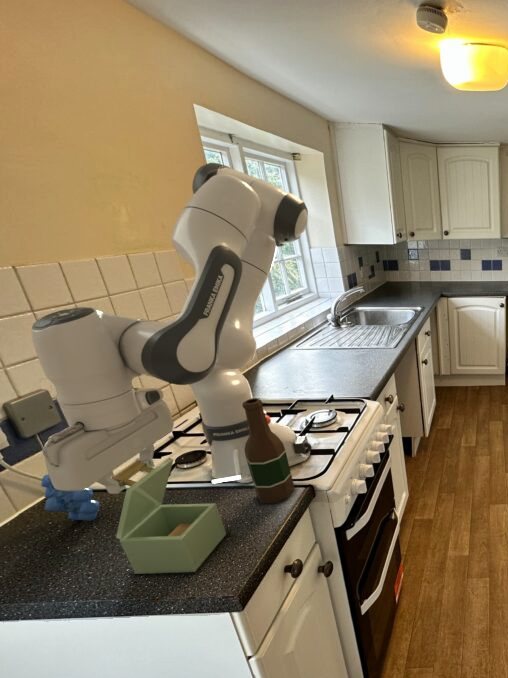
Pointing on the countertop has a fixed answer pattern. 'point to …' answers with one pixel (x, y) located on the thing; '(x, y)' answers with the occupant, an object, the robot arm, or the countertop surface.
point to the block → (179, 530)
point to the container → (174, 539)
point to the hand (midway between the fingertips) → (133, 479)
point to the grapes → (70, 501)
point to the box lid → (141, 493)
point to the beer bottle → (266, 457)
